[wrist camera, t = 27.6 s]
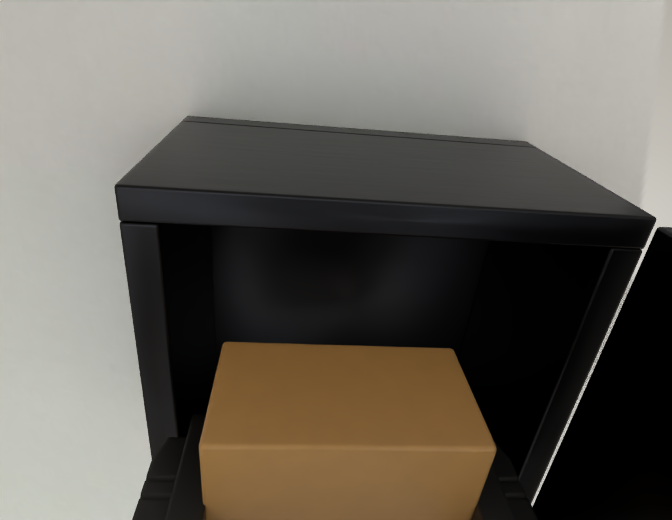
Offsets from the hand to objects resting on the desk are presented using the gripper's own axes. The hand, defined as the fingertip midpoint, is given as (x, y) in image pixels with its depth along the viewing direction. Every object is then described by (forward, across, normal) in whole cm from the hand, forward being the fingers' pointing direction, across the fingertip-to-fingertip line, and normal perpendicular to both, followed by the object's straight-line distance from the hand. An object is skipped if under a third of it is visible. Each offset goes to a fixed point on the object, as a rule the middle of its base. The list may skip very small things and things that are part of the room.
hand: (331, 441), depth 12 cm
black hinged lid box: (+8, -1, 0) cm, 8 cm away
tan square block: (0, 0, 0) cm, 0 cm away
